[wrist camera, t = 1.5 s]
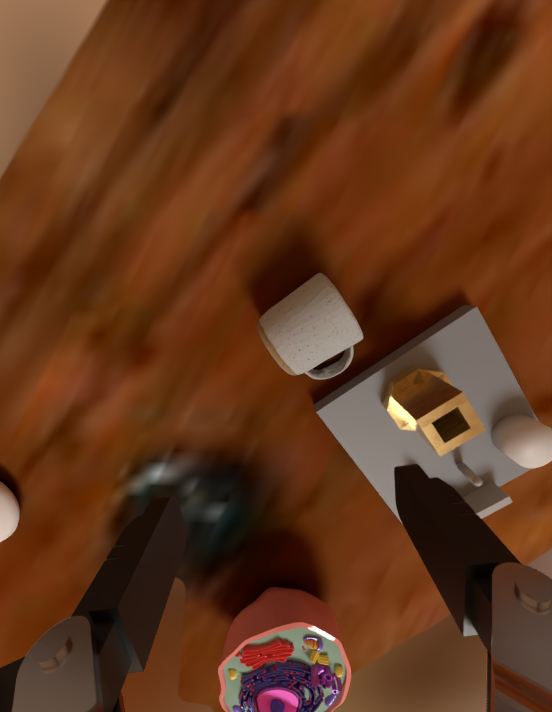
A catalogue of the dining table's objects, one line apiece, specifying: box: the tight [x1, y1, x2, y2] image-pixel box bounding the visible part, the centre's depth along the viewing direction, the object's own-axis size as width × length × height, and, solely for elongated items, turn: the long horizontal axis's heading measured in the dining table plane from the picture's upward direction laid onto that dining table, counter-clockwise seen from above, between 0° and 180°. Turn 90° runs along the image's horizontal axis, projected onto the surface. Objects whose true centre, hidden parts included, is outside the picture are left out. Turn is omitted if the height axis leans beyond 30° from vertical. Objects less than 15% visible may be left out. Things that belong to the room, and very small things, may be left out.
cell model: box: [218, 587, 351, 712], centre depth 36 cm, size 17×20×11 cm
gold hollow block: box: [382, 365, 485, 457], centre depth 28 cm, size 7×7×6 cm
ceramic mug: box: [257, 273, 363, 379], centre depth 27 cm, size 11×8×8 cm
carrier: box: [314, 305, 552, 526], centre depth 31 cm, size 20×22×6 cm
